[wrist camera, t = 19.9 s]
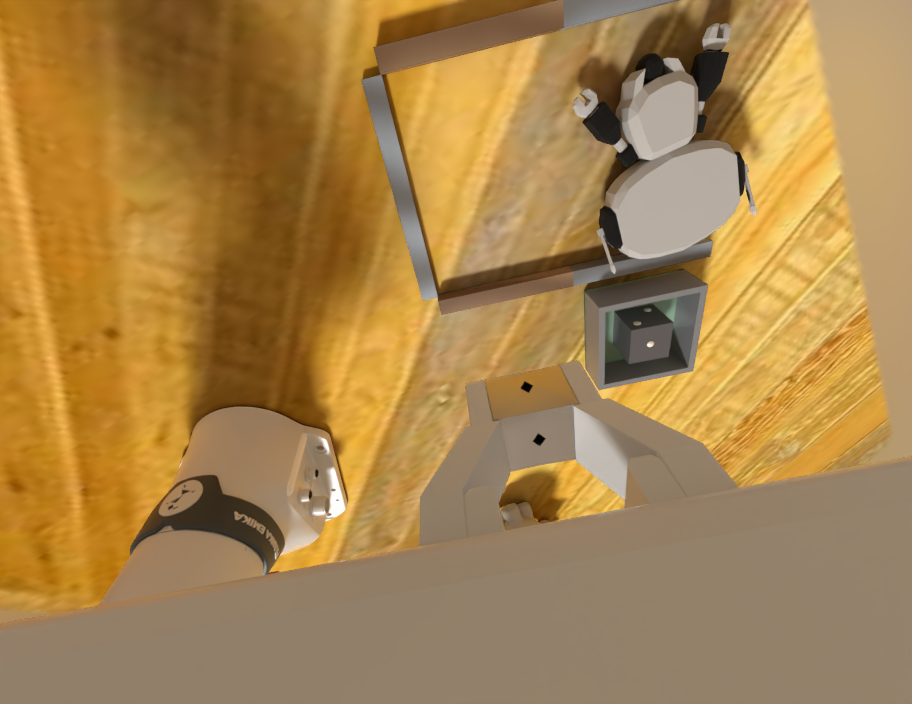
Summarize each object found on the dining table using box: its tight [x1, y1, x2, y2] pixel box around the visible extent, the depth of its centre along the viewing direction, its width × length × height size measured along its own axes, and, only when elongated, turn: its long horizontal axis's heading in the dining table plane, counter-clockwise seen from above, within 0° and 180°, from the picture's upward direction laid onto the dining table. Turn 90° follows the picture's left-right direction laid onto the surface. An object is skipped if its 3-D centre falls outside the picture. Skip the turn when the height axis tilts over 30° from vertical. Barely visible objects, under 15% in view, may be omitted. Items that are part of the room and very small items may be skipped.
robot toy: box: [573, 23, 757, 274], centre depth 31 cm, size 12×4×15 cm
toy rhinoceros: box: [501, 502, 550, 531], centre depth 56 cm, size 7×12×8 cm, turn 51°
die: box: [613, 304, 674, 364], centre depth 39 cm, size 4×4×4 cm
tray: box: [584, 269, 708, 390], centre depth 40 cm, size 10×10×4 cm
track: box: [362, 0, 713, 315], centre depth 32 cm, size 21×28×2 cm
